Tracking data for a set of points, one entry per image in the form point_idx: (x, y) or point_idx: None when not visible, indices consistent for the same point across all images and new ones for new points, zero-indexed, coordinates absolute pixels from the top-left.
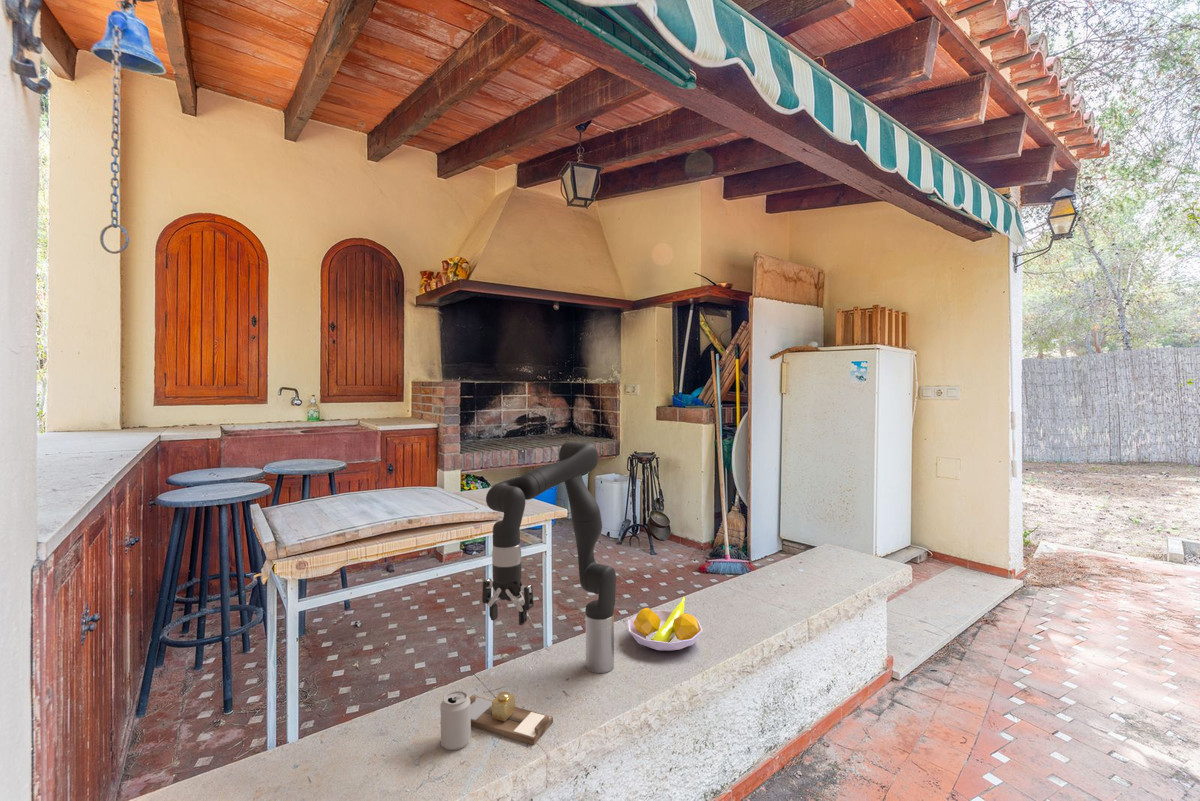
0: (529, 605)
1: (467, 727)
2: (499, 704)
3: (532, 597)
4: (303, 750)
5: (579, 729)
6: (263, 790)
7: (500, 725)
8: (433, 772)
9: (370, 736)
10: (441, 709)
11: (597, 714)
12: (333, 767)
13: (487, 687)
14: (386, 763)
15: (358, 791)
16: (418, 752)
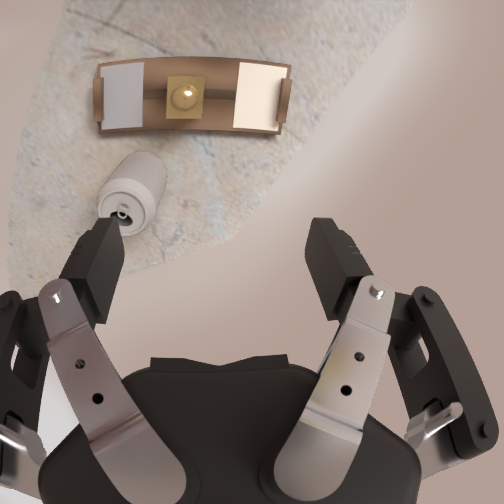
0: (418, 349)
1: (162, 187)
2: (187, 117)
3: (460, 353)
4: (13, 259)
5: (342, 75)
6: None
7: (198, 119)
8: (160, 233)
9: (35, 215)
10: None
11: (361, 31)
12: (56, 266)
13: (95, 18)
14: None
15: None
16: None
